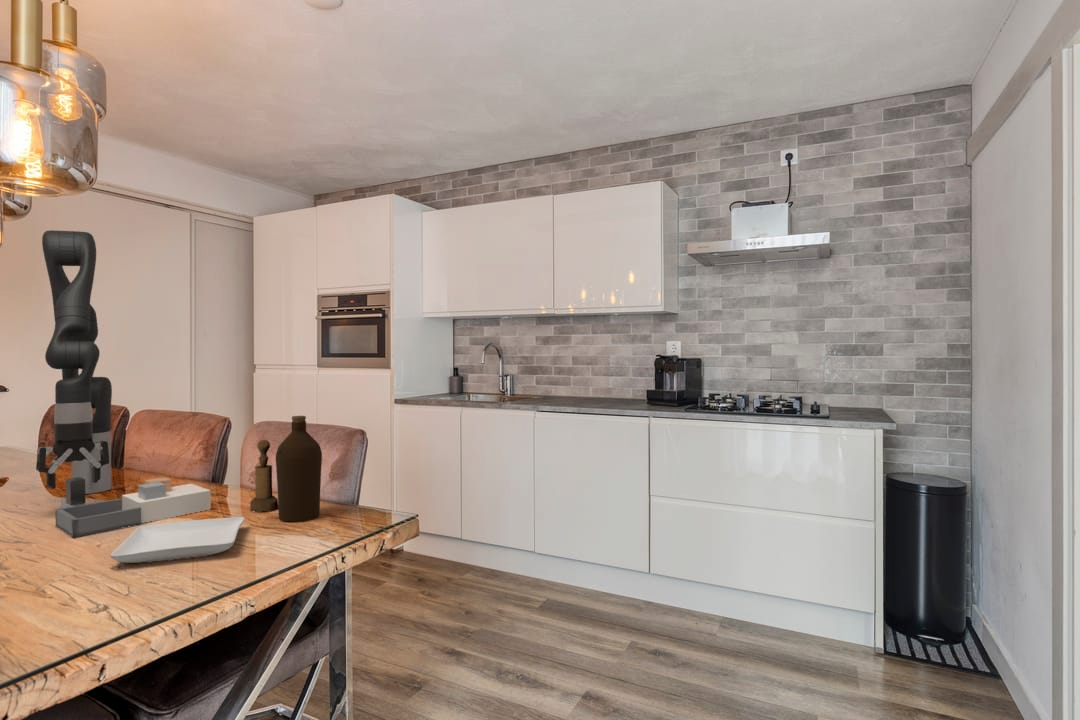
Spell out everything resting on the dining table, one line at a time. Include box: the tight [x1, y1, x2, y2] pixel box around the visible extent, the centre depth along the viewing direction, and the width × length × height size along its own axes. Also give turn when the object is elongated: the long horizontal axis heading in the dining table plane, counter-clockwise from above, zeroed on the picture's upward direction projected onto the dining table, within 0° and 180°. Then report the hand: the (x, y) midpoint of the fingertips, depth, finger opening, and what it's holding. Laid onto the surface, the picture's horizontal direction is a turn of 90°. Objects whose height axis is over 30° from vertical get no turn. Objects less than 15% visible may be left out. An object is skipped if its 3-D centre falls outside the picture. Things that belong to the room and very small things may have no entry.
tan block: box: [144, 476, 172, 492], centre depth 152 cm, size 4×4×3 cm
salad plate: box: [110, 516, 246, 564], centre depth 125 cm, size 21×21×3 cm
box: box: [55, 497, 142, 539], centre depth 140 cm, size 14×13×4 cm
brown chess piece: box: [249, 439, 278, 513], centre depth 154 cm, size 7×6×18 cm
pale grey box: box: [137, 482, 166, 500], centre depth 147 cm, size 4×4×3 cm
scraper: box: [60, 477, 87, 508], centre depth 150 cm, size 16×3×9 cm, turn 51°
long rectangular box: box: [121, 483, 212, 524], centre depth 151 cm, size 12×16×5 cm
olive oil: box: [275, 415, 323, 522], centre depth 147 cm, size 11×11×25 cm
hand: (74, 485), depth 149 cm, fingers open, 8 cm apart
